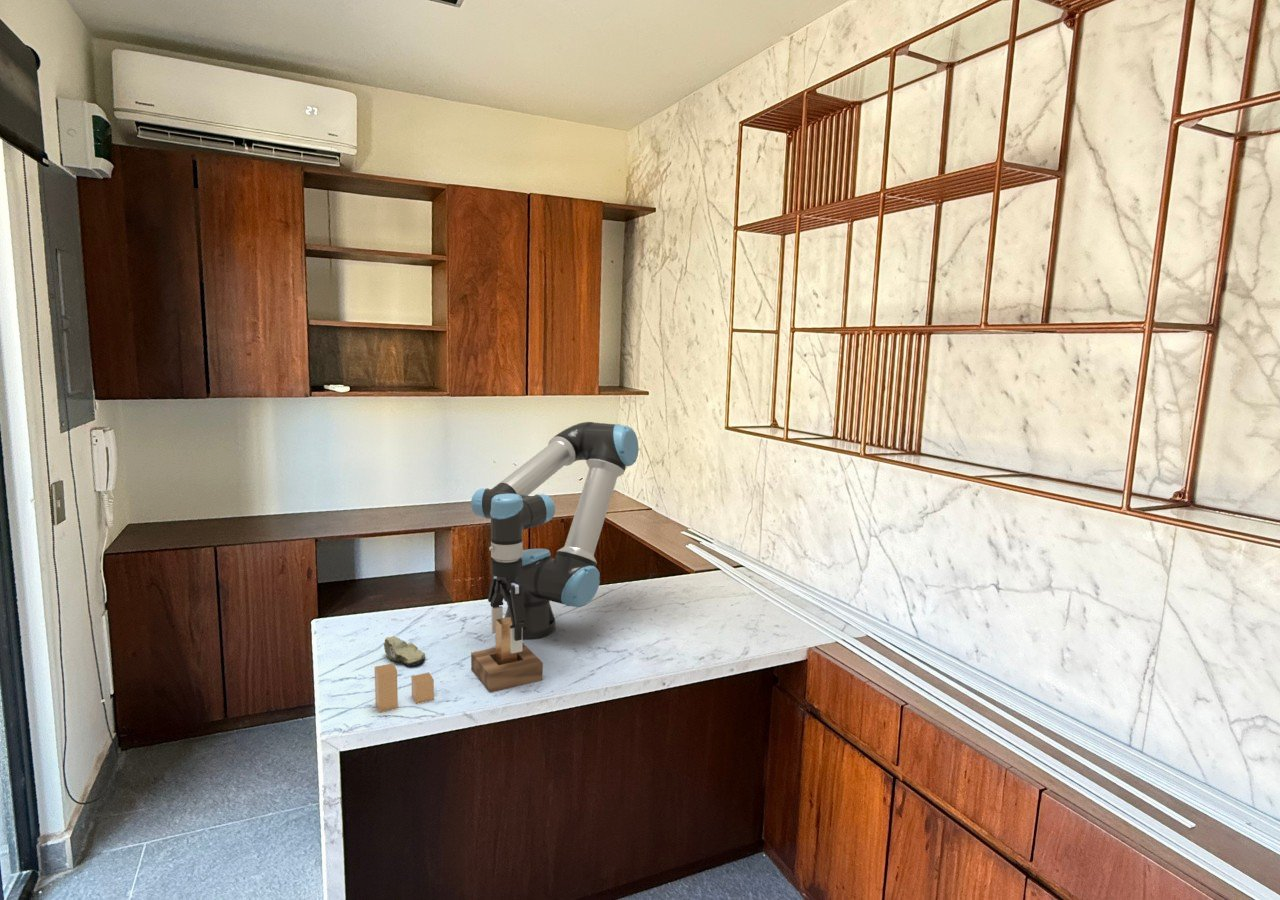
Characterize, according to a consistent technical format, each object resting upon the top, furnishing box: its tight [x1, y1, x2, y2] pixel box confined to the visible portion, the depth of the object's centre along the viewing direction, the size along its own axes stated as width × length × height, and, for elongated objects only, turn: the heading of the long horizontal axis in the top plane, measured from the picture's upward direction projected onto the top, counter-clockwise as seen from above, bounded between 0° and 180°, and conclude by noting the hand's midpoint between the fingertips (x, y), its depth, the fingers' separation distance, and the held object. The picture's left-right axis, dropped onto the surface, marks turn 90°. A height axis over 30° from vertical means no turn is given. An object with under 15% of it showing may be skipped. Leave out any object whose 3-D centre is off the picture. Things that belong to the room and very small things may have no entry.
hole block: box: [470, 642, 544, 693], centre depth 172 cm, size 14×14×4 cm
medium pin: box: [374, 663, 399, 713], centre depth 155 cm, size 4×4×9 cm
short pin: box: [411, 672, 435, 705], centre depth 159 cm, size 4×4×5 cm
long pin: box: [495, 617, 517, 665], centre depth 171 cm, size 4×4×14 cm
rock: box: [383, 636, 426, 667], centre depth 178 cm, size 11×6×10 cm
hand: (506, 641), depth 171 cm, fingers open, 13 cm apart
